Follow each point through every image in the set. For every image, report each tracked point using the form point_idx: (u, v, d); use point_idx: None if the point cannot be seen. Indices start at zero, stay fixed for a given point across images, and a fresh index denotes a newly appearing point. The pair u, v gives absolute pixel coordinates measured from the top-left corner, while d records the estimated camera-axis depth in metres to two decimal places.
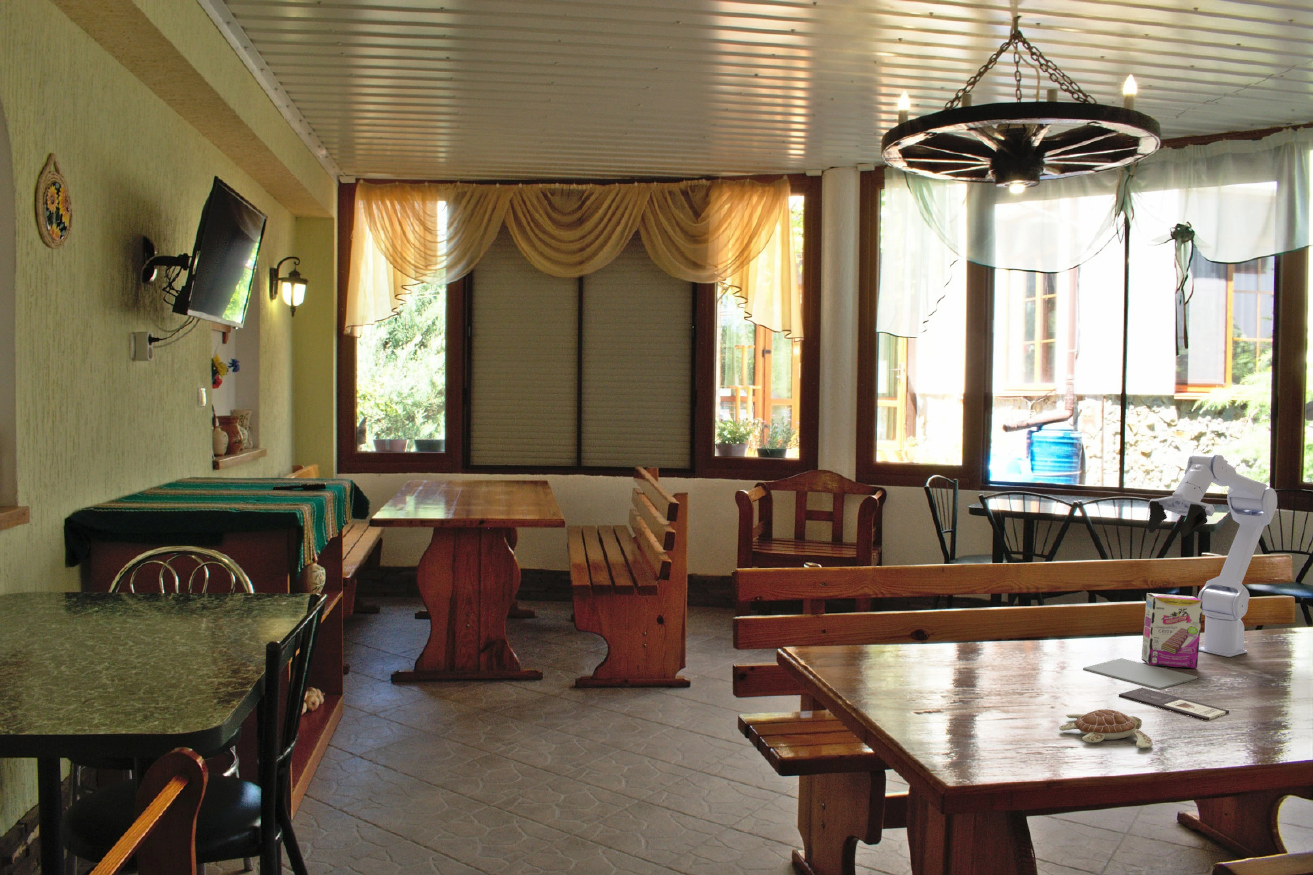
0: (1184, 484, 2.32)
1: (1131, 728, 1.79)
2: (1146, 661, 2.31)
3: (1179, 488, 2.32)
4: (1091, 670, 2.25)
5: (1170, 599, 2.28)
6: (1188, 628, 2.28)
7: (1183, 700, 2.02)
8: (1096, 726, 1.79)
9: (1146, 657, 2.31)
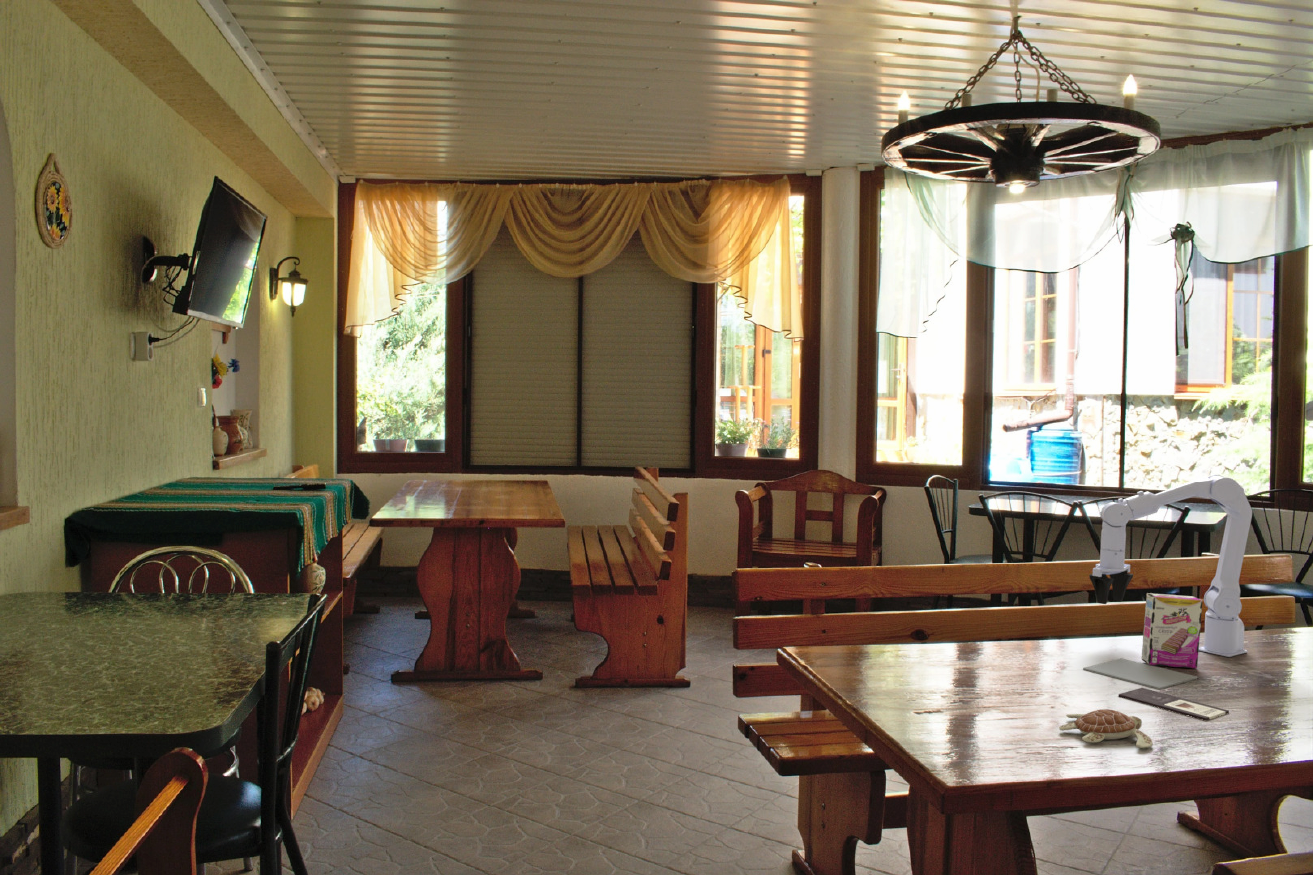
0: None
1: (1131, 728, 1.79)
2: (1146, 661, 2.31)
3: None
4: (1091, 670, 2.25)
5: (1170, 599, 2.28)
6: (1188, 628, 2.28)
7: (1183, 700, 2.02)
8: (1096, 726, 1.79)
9: (1146, 657, 2.31)
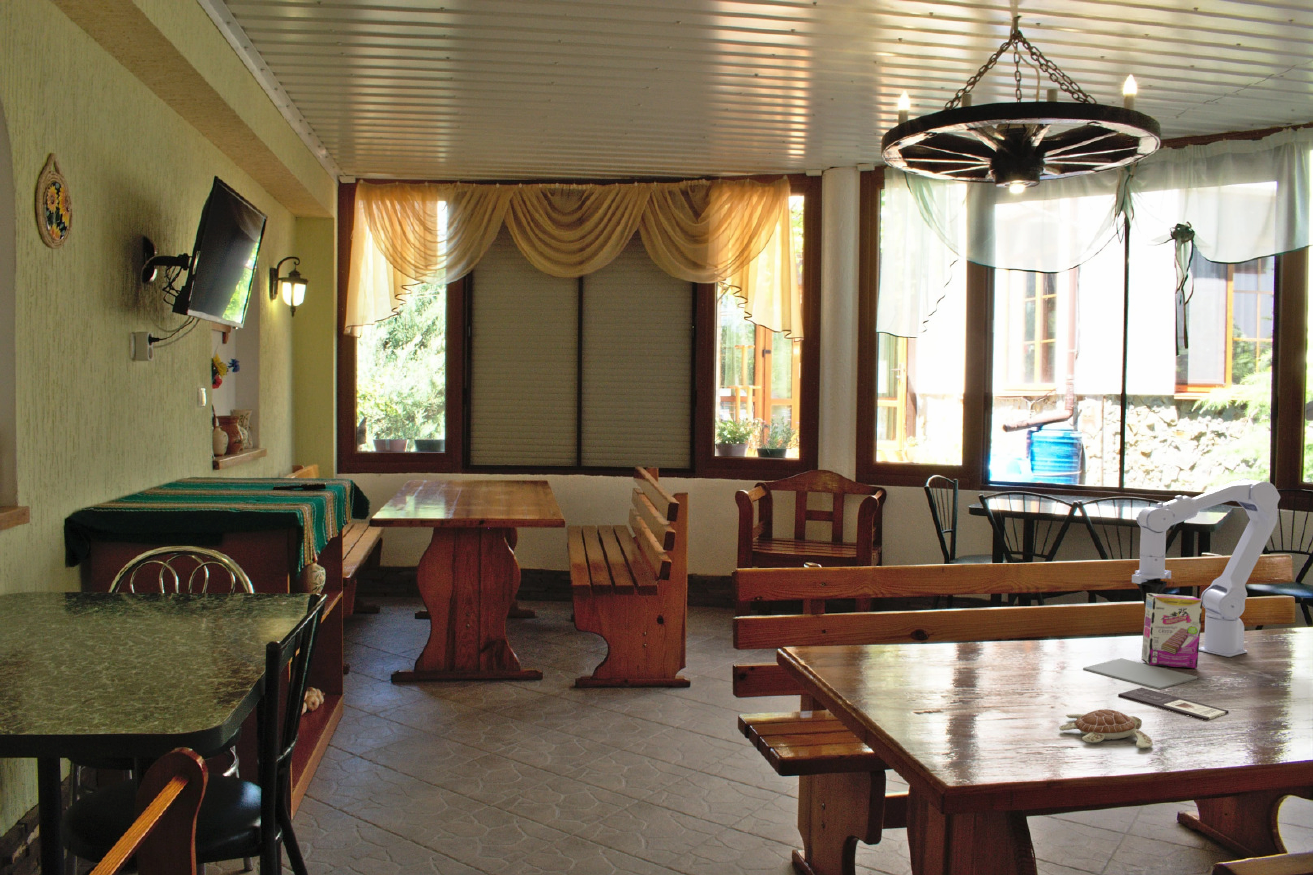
0: None
1: (1131, 728, 1.79)
2: (1146, 661, 2.31)
3: None
4: (1091, 670, 2.25)
5: (1170, 599, 2.28)
6: (1188, 628, 2.28)
7: (1183, 700, 2.02)
8: (1096, 726, 1.79)
9: (1146, 657, 2.31)
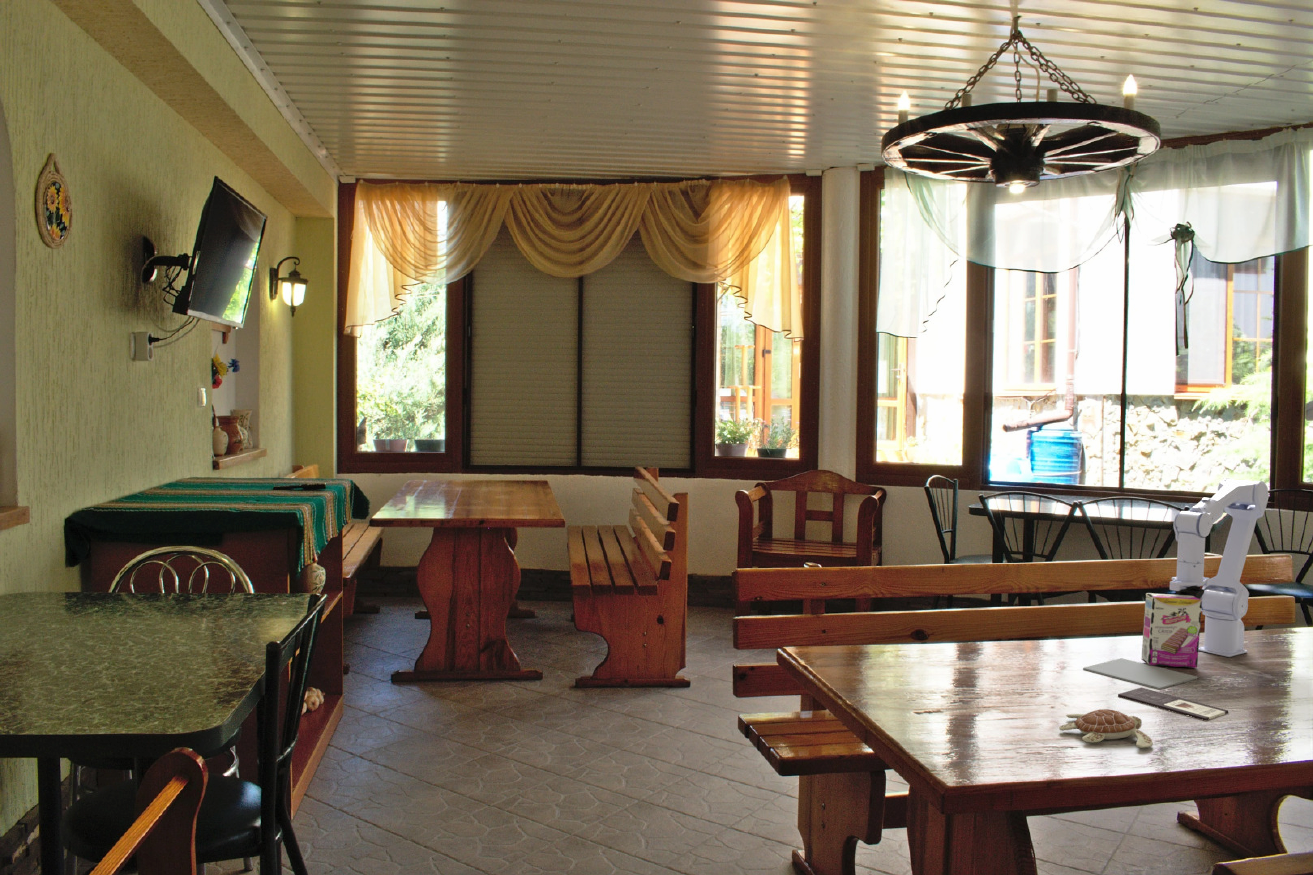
0: None
1: (1131, 728, 1.79)
2: (1146, 661, 2.31)
3: None
4: (1091, 670, 2.25)
5: (1169, 599, 2.28)
6: (1188, 627, 2.28)
7: (1183, 700, 2.02)
8: (1096, 726, 1.79)
9: (1145, 657, 2.31)
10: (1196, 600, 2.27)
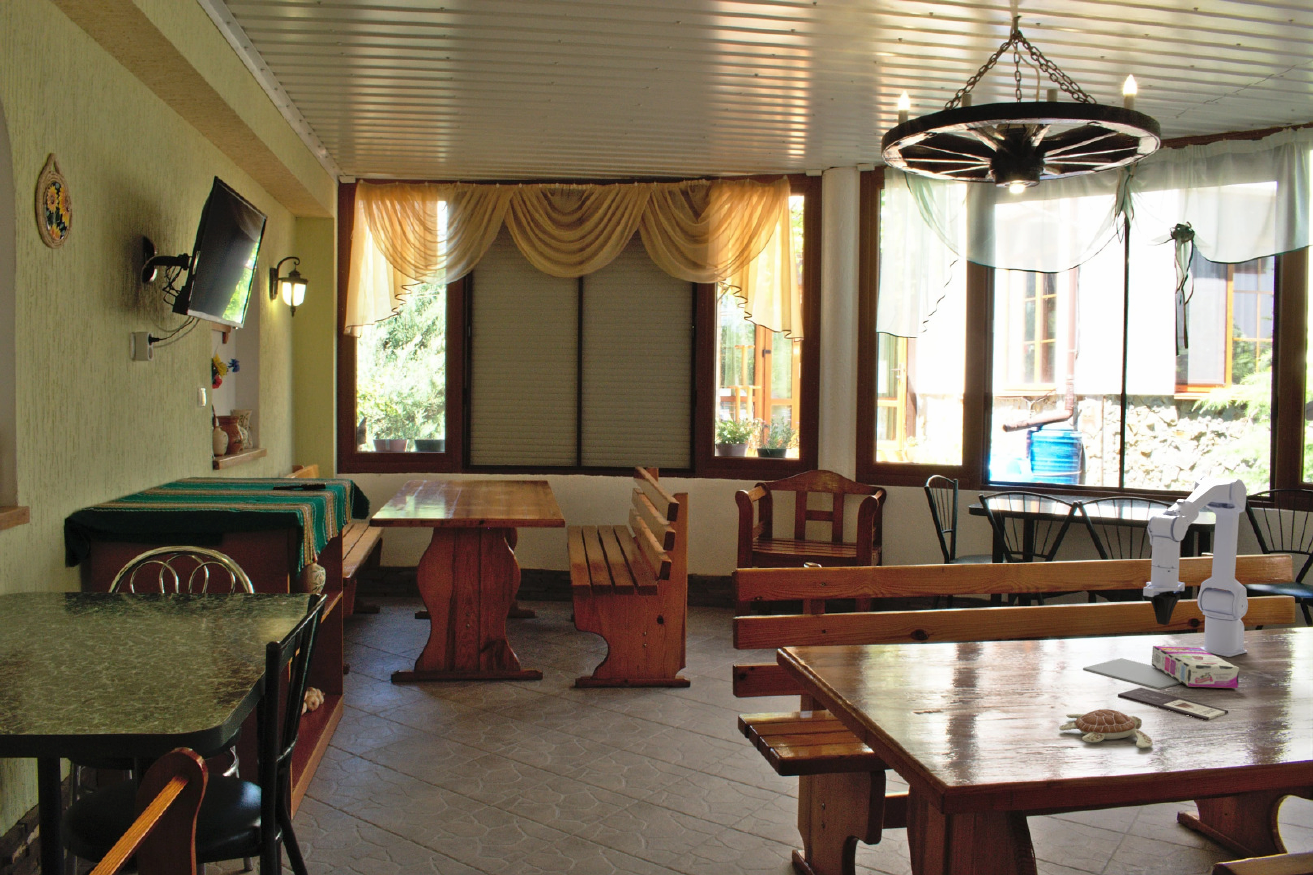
0: None
1: (1131, 728, 1.79)
2: (1152, 659, 2.28)
3: None
4: (1091, 670, 2.25)
5: (1203, 686, 2.12)
6: None
7: (1182, 700, 2.02)
8: (1096, 726, 1.79)
9: (1154, 659, 2.27)
10: (1231, 687, 2.12)
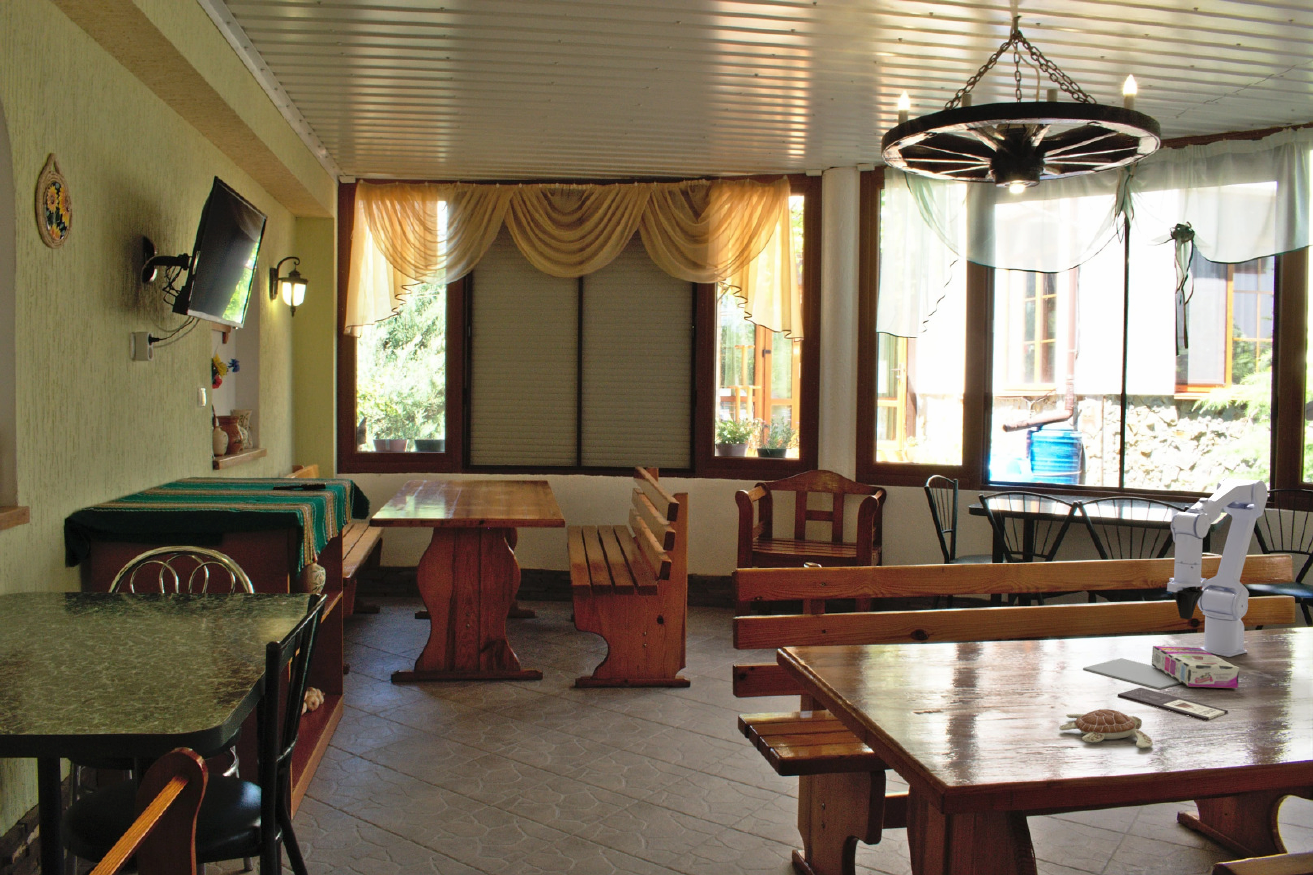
0: None
1: (1131, 728, 1.79)
2: (1152, 659, 2.28)
3: None
4: (1091, 670, 2.25)
5: (1203, 686, 2.12)
6: None
7: (1182, 700, 2.02)
8: (1096, 725, 1.79)
9: (1154, 659, 2.27)
10: (1231, 687, 2.12)
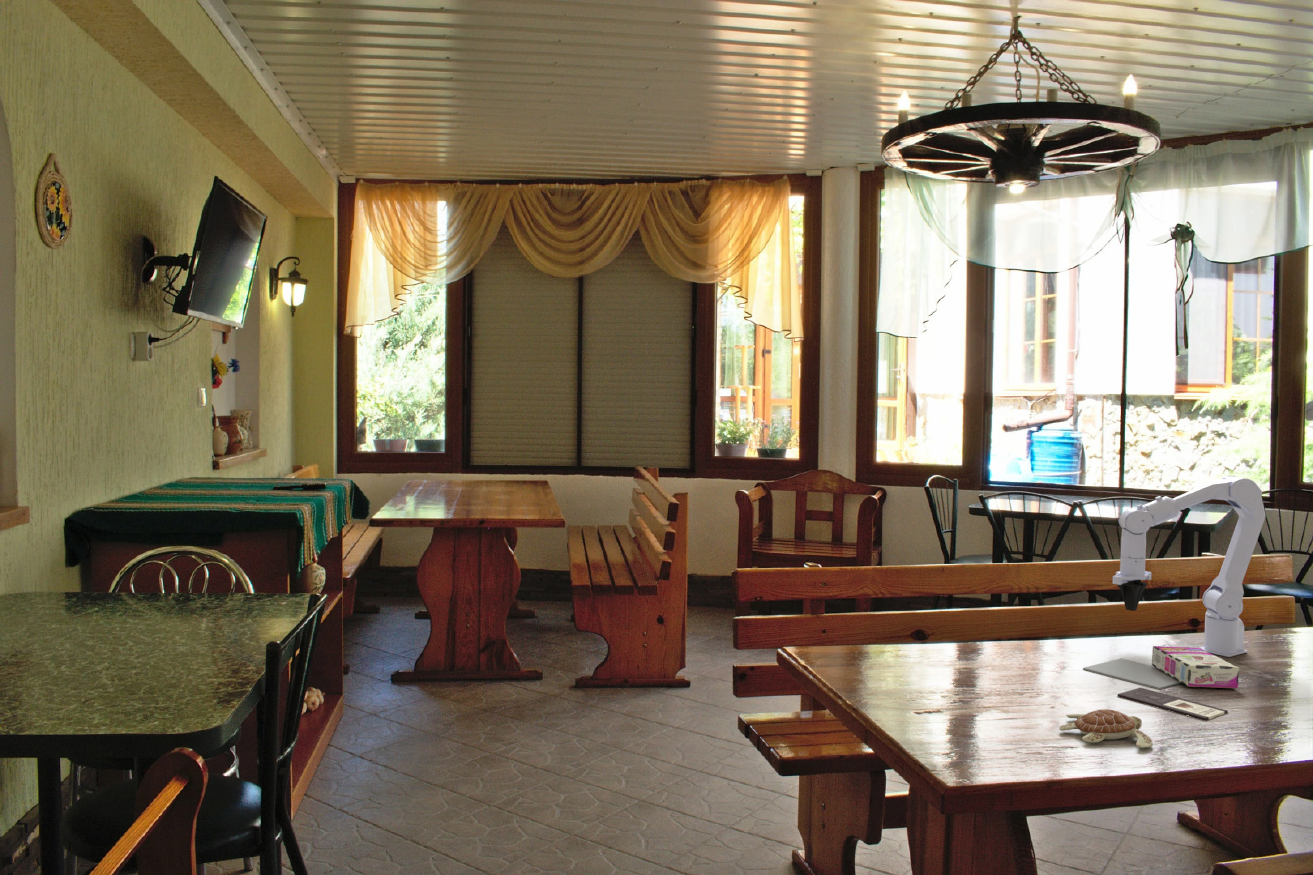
0: None
1: (1131, 728, 1.79)
2: (1152, 659, 2.28)
3: None
4: (1091, 670, 2.25)
5: (1203, 686, 2.12)
6: None
7: (1182, 700, 2.02)
8: (1096, 726, 1.79)
9: (1154, 659, 2.27)
10: (1231, 687, 2.12)
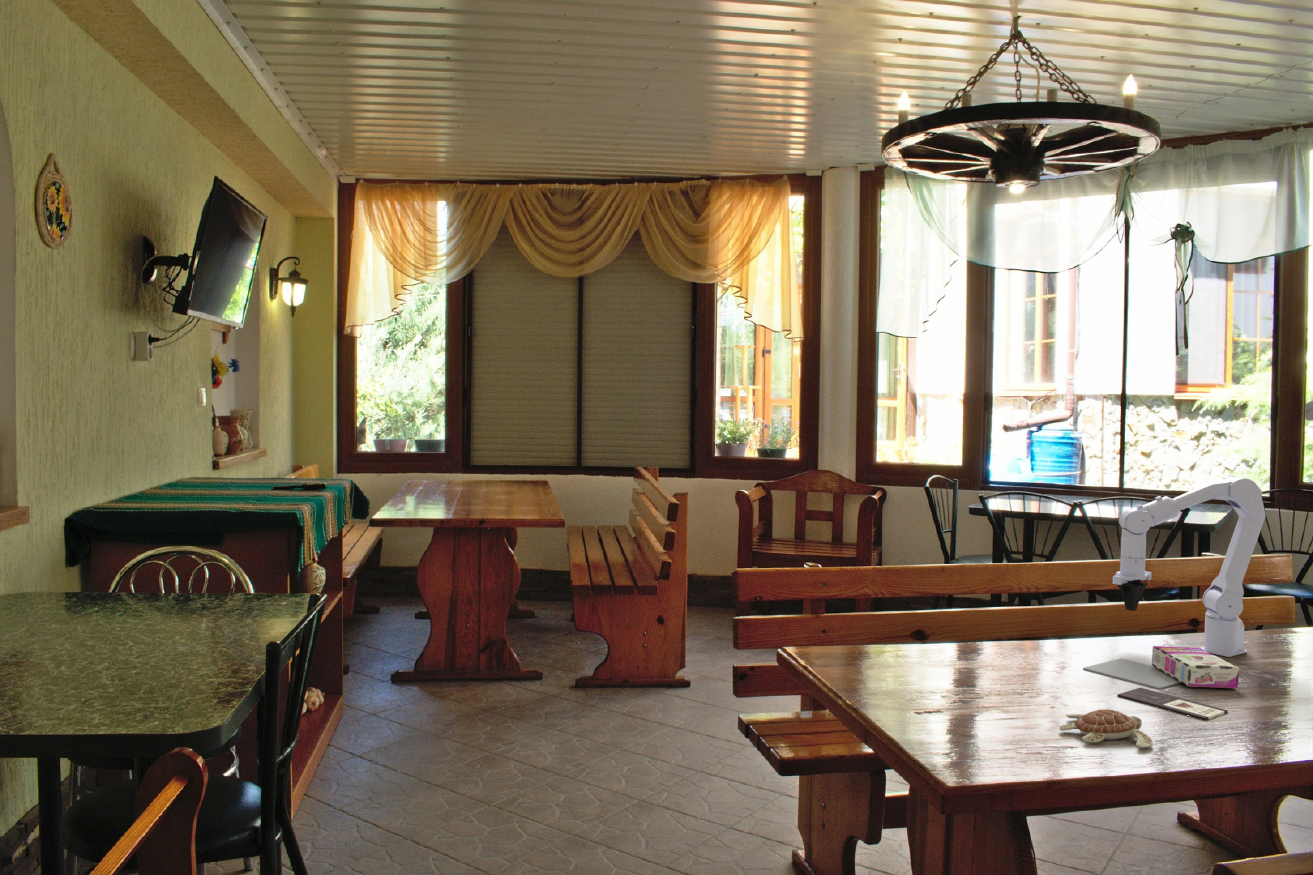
0: None
1: (1131, 728, 1.79)
2: (1152, 659, 2.28)
3: None
4: (1091, 670, 2.25)
5: (1203, 686, 2.12)
6: None
7: (1182, 700, 2.02)
8: (1096, 726, 1.79)
9: (1154, 659, 2.27)
10: (1231, 687, 2.12)
